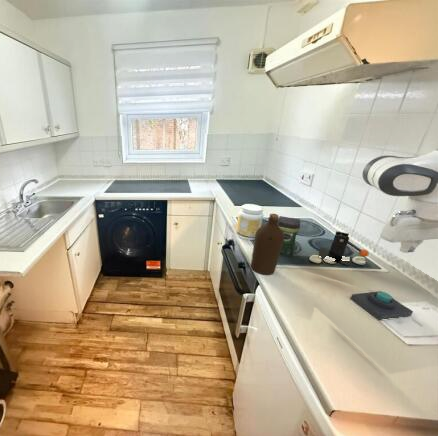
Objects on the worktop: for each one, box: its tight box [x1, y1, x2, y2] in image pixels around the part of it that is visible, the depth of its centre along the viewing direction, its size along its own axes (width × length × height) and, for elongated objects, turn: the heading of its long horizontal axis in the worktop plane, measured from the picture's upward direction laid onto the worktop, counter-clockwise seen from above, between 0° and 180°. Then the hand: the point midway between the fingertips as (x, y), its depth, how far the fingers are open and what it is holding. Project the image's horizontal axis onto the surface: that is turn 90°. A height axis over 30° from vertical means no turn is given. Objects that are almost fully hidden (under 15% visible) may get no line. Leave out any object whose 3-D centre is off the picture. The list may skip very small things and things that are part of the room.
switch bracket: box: [318, 230, 353, 267], centre depth 106 cm, size 12×9×13 cm
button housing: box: [349, 290, 414, 321], centre depth 80 cm, size 12×10×4 cm
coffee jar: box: [277, 215, 301, 258], centre depth 110 cm, size 10×8×19 cm
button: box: [376, 290, 393, 303], centre depth 79 cm, size 4×4×2 cm
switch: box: [339, 233, 370, 258], centre depth 103 cm, size 13×3×3 cm, turn 55°
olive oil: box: [250, 213, 284, 276], centre depth 97 cm, size 11×11×25 cm
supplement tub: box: [235, 203, 264, 241], centre depth 128 cm, size 12×12×17 cm
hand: (406, 251), depth 72 cm, fingers closed
